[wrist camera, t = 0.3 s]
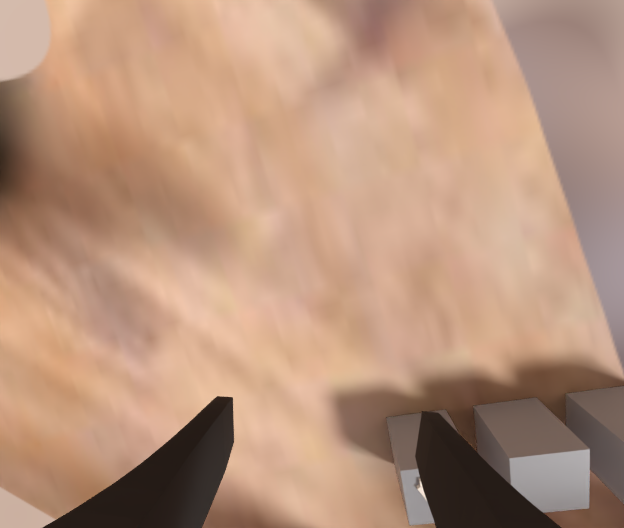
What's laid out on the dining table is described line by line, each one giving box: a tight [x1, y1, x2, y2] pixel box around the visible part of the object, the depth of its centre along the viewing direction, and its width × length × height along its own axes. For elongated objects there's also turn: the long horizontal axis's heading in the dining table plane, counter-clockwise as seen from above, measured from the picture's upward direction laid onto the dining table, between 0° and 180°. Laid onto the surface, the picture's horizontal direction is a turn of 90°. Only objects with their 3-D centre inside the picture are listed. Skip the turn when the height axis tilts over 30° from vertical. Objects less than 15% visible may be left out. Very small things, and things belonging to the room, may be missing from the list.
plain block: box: [473, 397, 590, 513], centre depth 20 cm, size 4×4×4 cm
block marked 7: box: [386, 409, 459, 525], centre depth 20 cm, size 4×4×5 cm
